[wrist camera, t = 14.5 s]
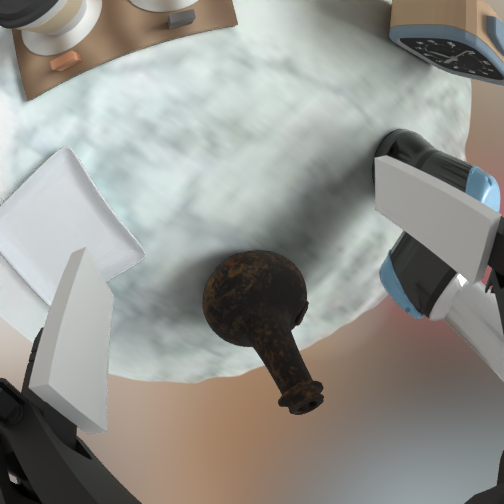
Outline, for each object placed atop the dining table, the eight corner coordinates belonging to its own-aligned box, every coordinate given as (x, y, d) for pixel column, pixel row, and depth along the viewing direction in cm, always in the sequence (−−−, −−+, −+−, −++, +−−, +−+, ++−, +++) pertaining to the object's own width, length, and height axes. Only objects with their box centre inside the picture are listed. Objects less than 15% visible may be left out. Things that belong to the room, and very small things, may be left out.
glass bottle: (275, 312, 62) (336, 423, 39) (191, 315, 55) (228, 449, 33) (301, 239, 54) (395, 350, 31) (204, 232, 47) (262, 377, 24)
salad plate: (73, 137, 33) (66, 142, 30) (149, 246, 46) (149, 257, 43) (-12, 219, 33) (-21, 228, 30) (62, 304, 45) (59, 316, 42)
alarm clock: (371, 35, 36) (476, 37, 19) (376, -6, 32) (475, -17, 14) (440, 73, 43) (526, 94, 26) (444, 37, 38) (528, 49, 21)
